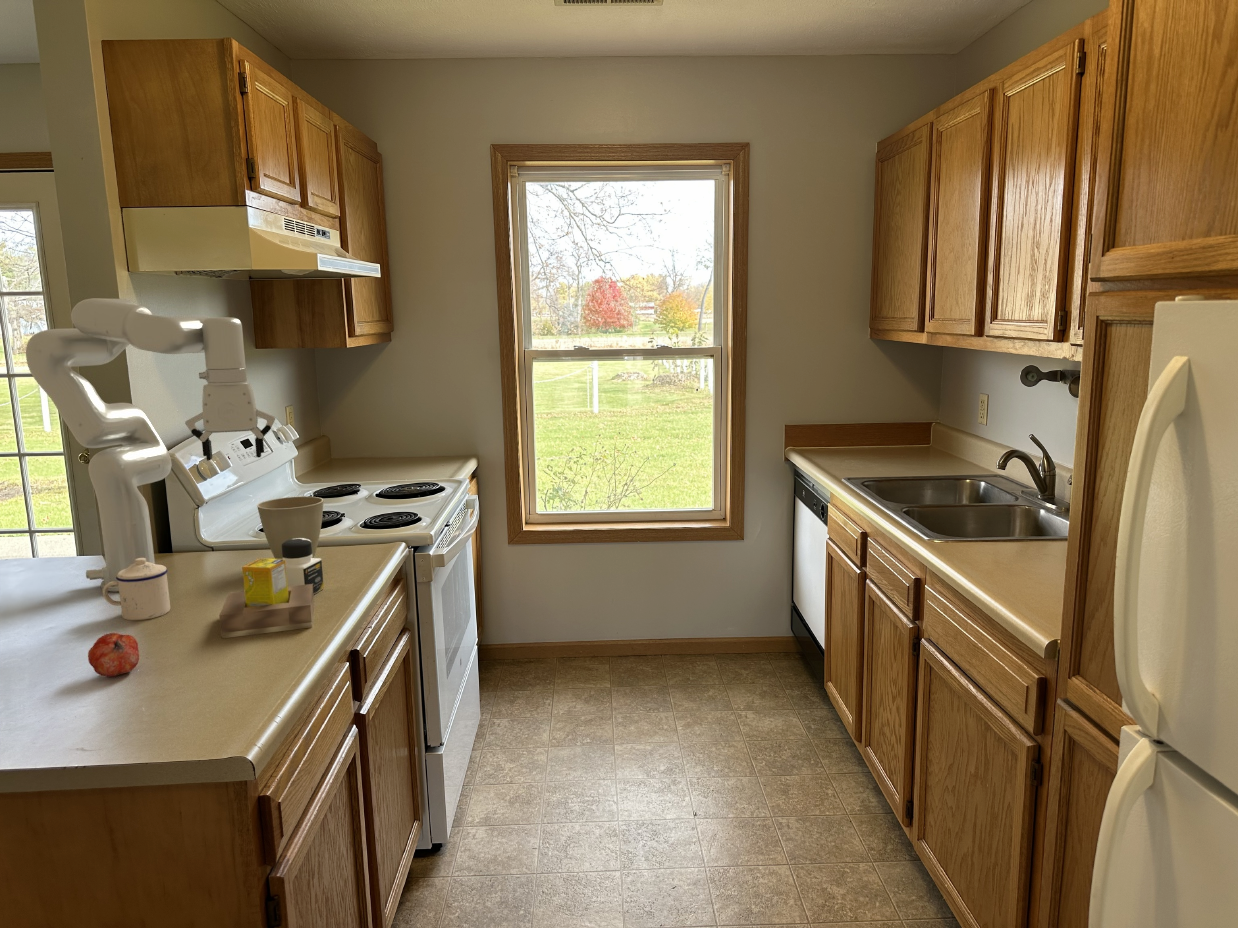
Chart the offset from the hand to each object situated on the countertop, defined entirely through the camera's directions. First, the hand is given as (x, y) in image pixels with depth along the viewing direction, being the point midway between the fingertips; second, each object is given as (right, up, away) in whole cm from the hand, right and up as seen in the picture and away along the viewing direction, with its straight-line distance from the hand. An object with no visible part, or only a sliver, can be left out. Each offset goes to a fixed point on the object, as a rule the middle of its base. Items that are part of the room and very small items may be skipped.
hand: (234, 458), depth 177 cm
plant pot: (+3, -26, +26) cm, 37 cm away
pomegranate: (-4, -37, -35) cm, 51 cm away
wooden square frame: (+12, -32, -12) cm, 37 cm away
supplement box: (+12, -32, -12) cm, 36 cm away
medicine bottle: (+12, -30, +5) cm, 33 cm away
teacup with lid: (-17, -32, -6) cm, 37 cm away
